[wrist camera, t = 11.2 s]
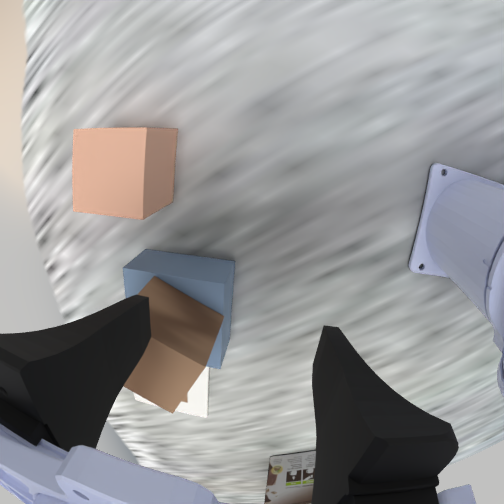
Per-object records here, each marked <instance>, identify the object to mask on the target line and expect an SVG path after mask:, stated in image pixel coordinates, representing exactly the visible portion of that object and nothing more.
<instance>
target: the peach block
mask: <svg viewBox="0 0 504 504" xmlns="http://www.w3.org/2000/svg"><path fill="white" fill-rule="evenodd" d="M177 133H178V129H171V128H90V129H74V134H73V166H72V182H73V211H75V212H83V213H91V214H100V215H108V216H116V217H124V218H132V219H140V220H143V219H145V218H147V217H148V216H150V215H152V214H153V213H155V212H157V211H159V210H160V209H162V208H164V207H165V206H167V205H169V204H171V203H172V202H173V190H174V173H175V158H176V145H177Z"/></svg>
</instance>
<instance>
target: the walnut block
mask: <svg viewBox="0 0 504 504" xmlns="http://www.w3.org/2000/svg"><path fill="white" fill-rule="evenodd" d="M137 295H141V296H146V297H149V308H150V324H151V339H150V341H149V343H148V346H147V348H146V350H145V352H144V354H143V356H142V358H141V359H140V361H139V362H138V364H137V365H136V367H135V369H134V370H133V372H132V373H131V375H130V376H129V378H128V379H127V381H126V383H125V384H124V387H126V388H127V389H129V390H131V391H133V392H134V393H136V394H138V395H139V396H141V397H143V398H145V399H147V400H148V401H150V402H152V403H154V404H156V405H158V406H159V407H161V408H163V409H165V410H167V411H169V412H171V413H173V412H174V411H175V409H176V408H177V407H178V405H179V404H180V402H181V401H182V400H183V398H184V397H185V395H186V394H187V393H188V391H189V390H190V388H191V387H192V386H193V384H194V383H195V381H196V380H197V379H198V377H199V376H200V374H201V373H202V372H203V370H204V369H205V367H206V365H207V362H208V359H209V357H210V354H211V351H212V349H213V346H214V343H215V341H216V338H217V335H218V333H219V330H220V327H221V325H222V322H223V319H224V317H225V316H223V315H221V314H220V313H218V312H216V311H214V310H212V309H211V308H209V307H207V306H205V305H203V304H202V303H200V302H198V301H196V300H195V299H193V298H191V297H190V296H188V295H186V294H184V293H183V292H181V291H179V290H178V289H176V288H174V287H172V286H171V285H169V284H167V283H166V282H164V281H162V280H161V279H159V278H157V277H156V276H154V277H153V278H152V279H151V280H150V281H149V282H148V283H147V284H146V285H145V287H144V288H143V289H142V290H141V291H140V292H139V293H138V294H137Z"/></svg>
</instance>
